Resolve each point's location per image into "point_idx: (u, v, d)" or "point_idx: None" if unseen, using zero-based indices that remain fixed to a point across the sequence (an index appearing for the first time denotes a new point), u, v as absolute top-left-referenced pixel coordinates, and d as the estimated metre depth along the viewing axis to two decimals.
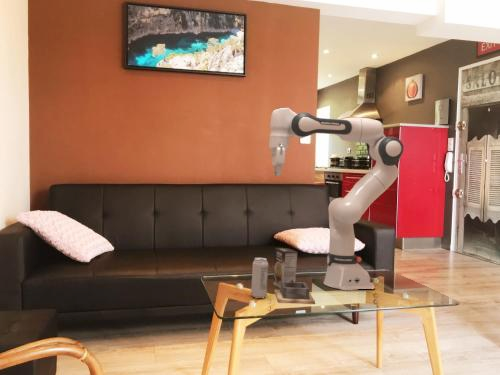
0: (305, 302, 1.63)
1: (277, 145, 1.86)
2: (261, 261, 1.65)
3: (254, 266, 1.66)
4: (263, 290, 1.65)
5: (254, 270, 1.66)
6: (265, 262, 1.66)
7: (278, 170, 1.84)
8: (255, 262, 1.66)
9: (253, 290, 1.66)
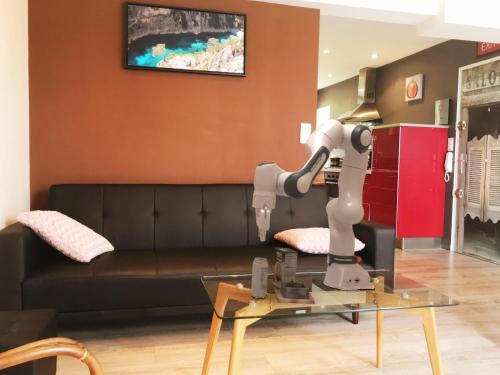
0: (305, 302, 1.63)
1: (261, 206, 1.63)
2: (261, 261, 1.65)
3: (254, 266, 1.66)
4: (263, 290, 1.65)
5: (254, 270, 1.66)
6: (265, 262, 1.66)
7: (262, 235, 1.61)
8: (255, 262, 1.66)
9: (253, 290, 1.66)
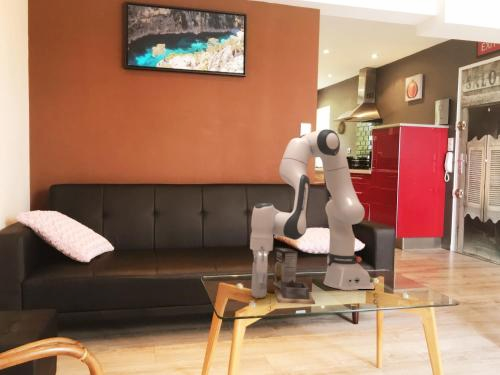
0: (305, 302, 1.63)
1: (259, 248, 1.63)
2: None
3: (254, 266, 1.66)
4: (263, 290, 1.65)
5: (254, 270, 1.66)
6: None
7: (259, 277, 1.63)
8: (255, 262, 1.66)
9: (253, 290, 1.66)
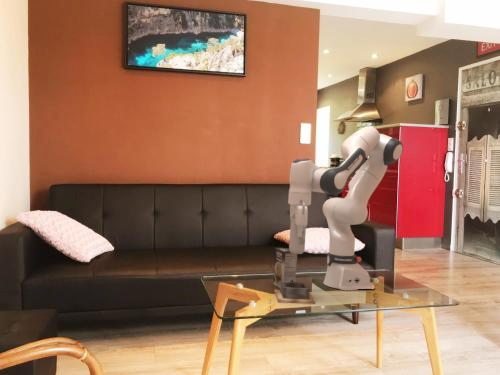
0: (305, 302, 1.63)
1: (298, 202, 1.64)
2: None
3: (293, 221, 1.67)
4: (301, 245, 1.66)
5: (293, 225, 1.67)
6: None
7: (299, 231, 1.64)
8: (294, 217, 1.67)
9: (292, 245, 1.67)
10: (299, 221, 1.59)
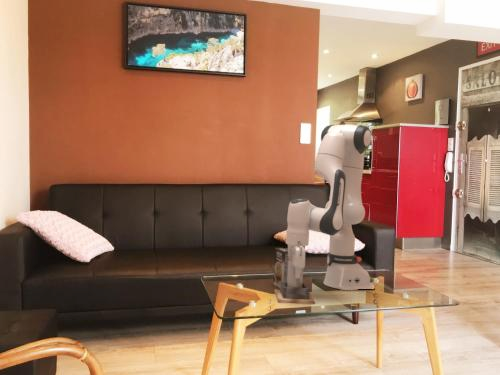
0: (305, 302, 1.63)
1: (295, 243, 1.65)
2: None
3: (290, 264, 1.67)
4: None
5: (290, 268, 1.67)
6: None
7: (297, 272, 1.64)
8: (291, 260, 1.67)
9: None
10: (297, 263, 1.59)
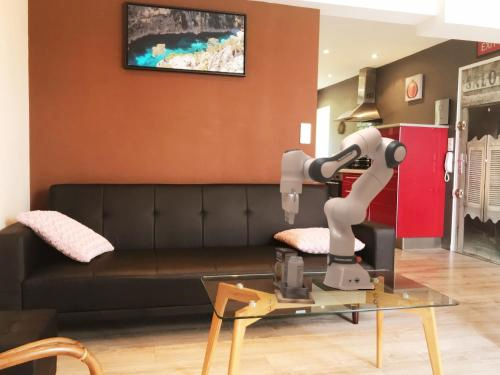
0: (305, 302, 1.63)
1: (289, 191, 1.71)
2: (297, 259, 1.67)
3: (290, 264, 1.67)
4: None
5: (290, 268, 1.67)
6: (301, 260, 1.67)
7: (291, 218, 1.70)
8: (291, 260, 1.67)
9: None
10: (290, 208, 1.66)
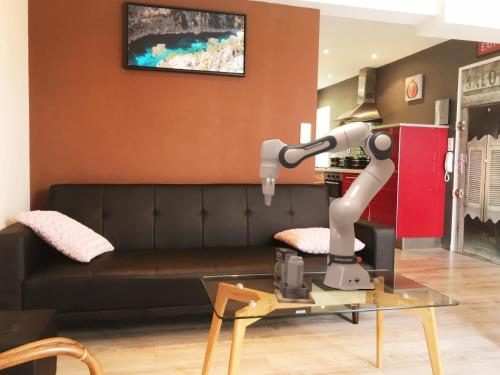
0: (305, 302, 1.63)
1: (267, 176, 1.91)
2: (297, 259, 1.67)
3: (290, 264, 1.67)
4: None
5: (290, 268, 1.67)
6: (301, 260, 1.67)
7: (268, 200, 1.90)
8: (291, 260, 1.67)
9: None
10: (267, 191, 1.86)
